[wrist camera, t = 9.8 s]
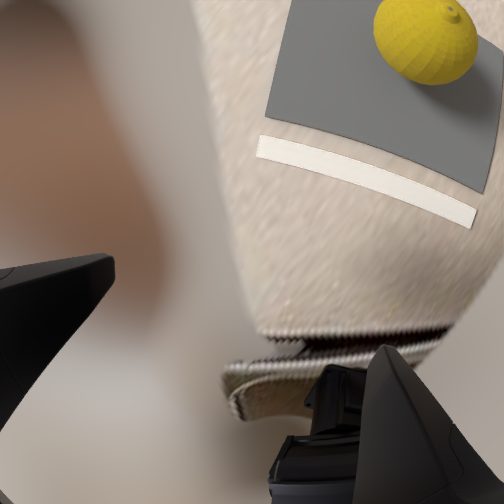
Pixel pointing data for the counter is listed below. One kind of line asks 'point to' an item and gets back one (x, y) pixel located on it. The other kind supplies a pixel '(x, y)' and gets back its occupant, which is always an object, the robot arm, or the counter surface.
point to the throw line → (365, 177)
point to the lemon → (426, 39)
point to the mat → (384, 92)
